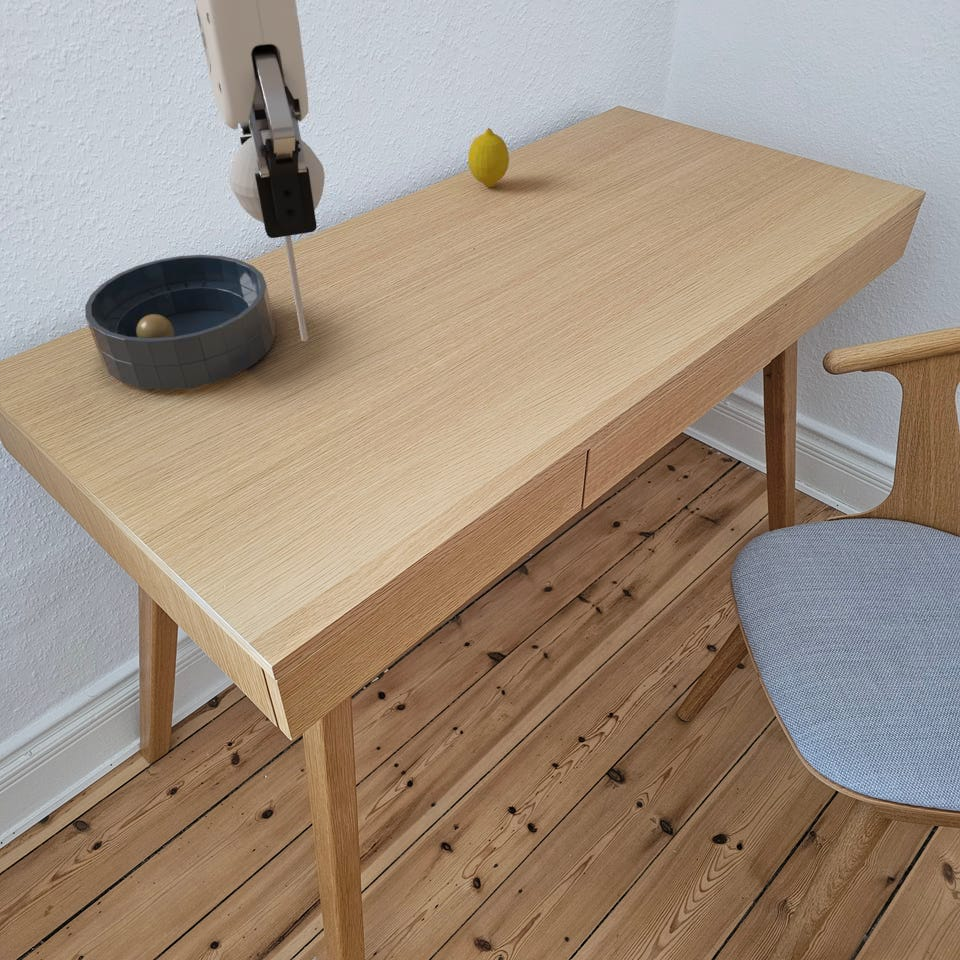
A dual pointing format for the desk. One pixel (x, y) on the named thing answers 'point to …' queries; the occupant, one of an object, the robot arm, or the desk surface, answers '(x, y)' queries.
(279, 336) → the desk surface
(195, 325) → the bowl
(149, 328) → the bead
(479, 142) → the fruit
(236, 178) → the lollipop
